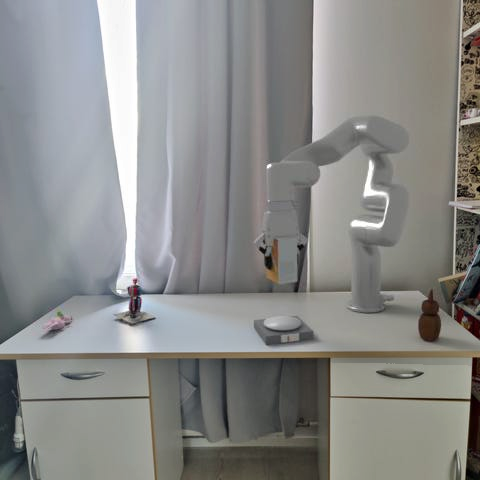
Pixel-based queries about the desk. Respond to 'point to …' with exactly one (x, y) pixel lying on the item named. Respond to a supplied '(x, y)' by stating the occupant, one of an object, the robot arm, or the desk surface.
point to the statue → (134, 307)
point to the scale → (282, 329)
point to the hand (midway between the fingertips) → (281, 267)
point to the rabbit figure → (58, 321)
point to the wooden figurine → (429, 319)
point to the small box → (283, 261)
